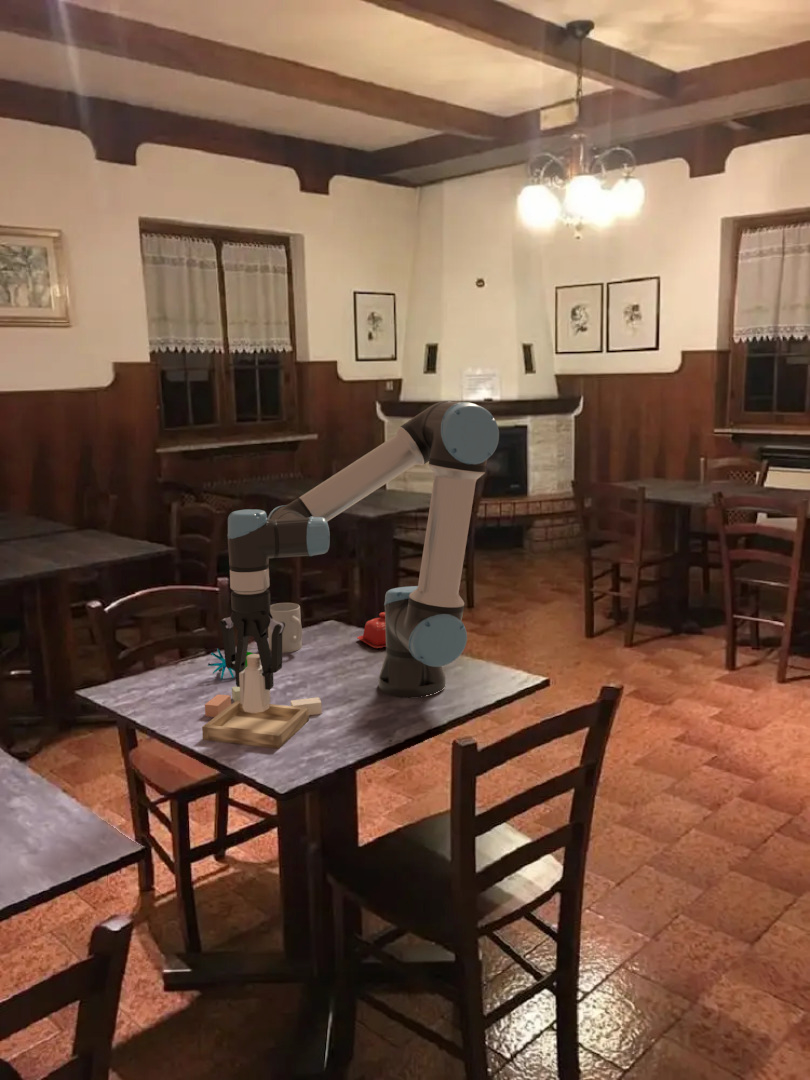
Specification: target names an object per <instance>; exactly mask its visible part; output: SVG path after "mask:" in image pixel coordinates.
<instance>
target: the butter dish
mask: <svg viewBox="0 0 810 1080" xmlns="http://www.w3.org/2000/svg"><path fill="white" fill-rule="evenodd" d="M357 639H358V640H359V641H361V642H363V643H365V644H366V645H368V646H370V647H372V648H374V649H378V648H380V649H384V648H383V647H385V648H386V629H385V611H383V612H380V613H379V617H375V618H372V619H370V620H368V621H366V622H365V626H364V629H363V634H362V635H359V636H357Z"/></svg>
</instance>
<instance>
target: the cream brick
mask: <svg viewBox="0 0 810 1080" xmlns="http://www.w3.org/2000/svg"><path fill="white" fill-rule="evenodd" d="M322 704H323V703H322V701H321V698H320V697H318V696H317V697H311V698H301V699H294V700H290V706H294V707H303V708H309V716H313V715H322V714H323V707H322V706H323V705H322Z"/></svg>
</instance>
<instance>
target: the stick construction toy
mask: <svg viewBox="0 0 810 1080" xmlns="http://www.w3.org/2000/svg"><path fill="white" fill-rule="evenodd" d="M216 650H217V653H218V654H216V653H214V652H211V653H210V654H209V655H210V656H214V657H215V658H216V659H218V660H219V661H220V662H215V663H210V662H209V663H208V664H207V667H217V668H215V669H214V670H213V671H212V675H214V674H215V673H216V672H219V673H220V674H221V675H220V681H223V680H224V676H225V671H226V669H227V670H228V673H230V676H231V679H234V678H235V675H234V673H233V672H235V671H234V670H233V669H231V668H227V667H226V664H225V657H224V656H223V654H222V652H221V651H220V647H218V648H217V649H216ZM250 654H254V653H253V652H251V651H247V656H248V655H250ZM247 656H246V657H247ZM246 665H247V659H246V663H245V666H246ZM246 667H248V666H246ZM246 667H245V668H246ZM245 668H244V669H245Z"/></svg>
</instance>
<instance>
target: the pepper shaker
mask: <svg viewBox="0 0 810 1080" xmlns="http://www.w3.org/2000/svg"><path fill="white" fill-rule="evenodd" d="M246 659H247V666H248V667H246V668H245V672H244V705H243V709H244V711H245V712H250V713H258V712H264V711H265V710H267V709H268V708H269V704H270V703H269V704H267V705H266V706H265V707H263V706H262V701H261V694H260V675H261V674H262V673H263V669H262V665H261V661H260V656H259V653H253V654H250V655H248V656H247V657H246Z"/></svg>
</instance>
